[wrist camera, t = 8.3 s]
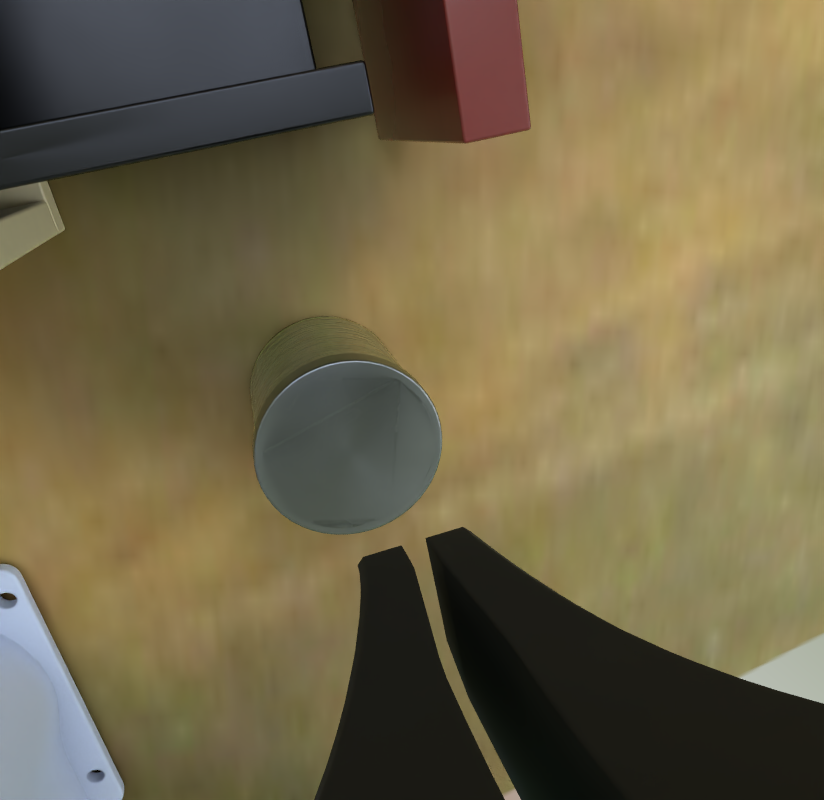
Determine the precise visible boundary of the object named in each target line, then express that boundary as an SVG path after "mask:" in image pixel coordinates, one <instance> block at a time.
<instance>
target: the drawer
mask: <svg viewBox="0 0 824 800" xmlns="http://www.w3.org/2000/svg"><path fill="white" fill-rule="evenodd" d="M353 5H354V10H355V16H356V21H357V26H358V32H359V37H360V42H361V47H362V53H363V58H364V61H362V60H360V61H355V62H350V63H344V64H339V65H334V66H328V67H323V68H318V69H316V64H315V59H314V55H313V50H312V45H311V41H310V36H309V31H308V27H307V22H306V18H305V13H304V8H303V4H302V0H0V190H4V189H9V188H14V187H19V186H24V185H29V184H34V183H39V182H44V181H49V180H54V179H59V178H64V177H69V176H74V175H79V174H84V173H88V172H93V171H98V170H103V169H108V168H113V167H118V166H123V165H128V164H133V163H138V162H143V161H148V160H153V159H158V158H163V157H167V156H172V155H177V154H182V153H187V152H192V151H197V150H202V149H207V148H212V147H217V146H222V145H227V144H232V143H237V142H242V141H247V140H251V139H256V138H261V137H266V136H271V135H276V134H281V133H286V132H291V131H296V130H301V129H306V128H311V127H316V126H321V125H326V124H330V123H335V122H340V121H345V120H350V119H355V118H360V117H365V116H370V115H372V114H374V116H375V121H376V126H377V132H378V137H379V139H380V140H393V141H418V142H443V143H470V142H475V141H480V140H485V139H489V138H494V137H499V136H503V135H508V134H513V133H517V132H522V131H527V130H529V129H530V128H531V124H530V115H529V106H528V97H527V88H526V78H525V69H524V60H523V51H522V42H521V33H520V24H519V14H518V5H517V0H353Z"/></svg>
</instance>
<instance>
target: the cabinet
mask: <svg viewBox="0 0 824 800" xmlns="http://www.w3.org/2000/svg"><path fill="white" fill-rule="evenodd" d="M64 230H65V227H64V225H63V222H62V219H61V217H60V214H59V211H58V208H57V206H56V203H55V200H54V198H53V195H52V192H51V190H50V187H49V184H48V182H47V181H44V182H39V183H34V184H29V185H24V186H19V187H14V188H9V189H4V190H0V270H1V269H3V268H4V267H6V266H8V265H9V264H11V263H12V262H14V261H16V260H17V259H19V258H20V257H22V256H24V255H25V254H27V253H28V252H30V251H32V250H33V249H35V248H36V247H38V246H40V245H41V244H43V243H44V242H46V241H48V240H49V239H51V238H52V237H54V236H56V235H58V234H59V233H61V232H62V231H64Z"/></svg>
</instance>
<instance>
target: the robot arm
mask: <svg viewBox="0 0 824 800" xmlns="http://www.w3.org/2000/svg"><path fill="white" fill-rule="evenodd" d="M426 542H427V547H428V552H429V557H430V562H431V566H432V571H433V576H434V581H435V586H436V590H437V595H438V600H439V605H440V610H441V614H442V619H443V624H444V629H445V634H446V638H447V642H448V645H449V647H450V650H451V653H452V655H453V658H454V661H455V663H456V666H457V669H458V671H459V674H460V676H461V679H462V682H463V684H464V687H465V689H466V692H467V695H468V697H469V699H470V701H471V703H472V705H473V707H474V709H475V711H476V713H477V715H478V717H479V719H480V721H481V723H482V725H483V727H484V729H485V731H486V733H487V735H488V737H489V738H490V740H491V742H492V744H493V746H494V748H495V750H496V752H497V754H498V756H499V758H500V760H501V762H502V764H503V766H504V768H505V769H506V771H507V773H508V775H509V777H510V779H511V781H512V783H513V785H514V787H515V789H516V791H517V793H518V795H519V796H520V798H521V800H824V704H823V703H819V702H816V701H812V700H809V699H805V698H802V697H798V696H794V695H791V694H787V693H784V692H780V691H777V690H774V689H771V688H768V687H765V686H761V685H758V684H755V683H752V682H749V681H746V680H743V679H740V678H737V677H734V676H732V675H729V674H726V673H724V672H721V671H718V670H715V669H713V668H710V667H707V666H705V665H702V664H699V663H696V662H694V661H691V660H689V659H686V658H684V657H681V656H679V655H676V654H674V653H672V652H669V651H667V650H664V649H662V648H660V647H658V646H656V645H654V644H651V643H649V642H647V641H645V640H643V639H641V638H638V637H636V636H634V635H632V634H630V633H628V632H625V631H623V630H621V629H619V628H617V627H616V626H614V625H612V624H610V623H608V622H606V621H604V620H602V619H601V618H599V617H597V616H595V615H594V614H592V613H590V612H588V611H587V610H585V609H583V608H581V607H580V606H578V605H576V604H574V603H573V602H571V601H570V600H568V599H566V598H565V597H563V596H561V595H560V594H558V593H557V592H555V591H553V590H552V589H550V588H549V587H547V586H546V585H544V584H543V583H541V582H540V581H538V580H537V579H535V578H533V577H532V576H530V575H529V574H527V573H526V572H525V571H523V570H522V569H520V568H519V567H517V566H516V565H515V564H513V563H512V562H510V561H509V560H508V559H506V558H505V557H503V556H502V555H501V554H499V553H498V552H497V551H495V550H494V549H493V548H491V547H490V546H489V545H487V544H486V543H485V542H483V541H482V540H481V539H480V538H478V537H477V536H476V535H474V534H473V533H472V532H471V531H469V530H467V529H465V528H464V527H461V528H458V529H454V530H451V531H448V532H444V533H441V534H438V535H434V536H431V537H428V538H426ZM358 568H359V572H360V582H361V602H360V618H359V626H358V634H357V642H356V650H355V656H354V661H353V666H352V671H351V676H350V681H349V685H348V690H347V695H346V700H345V704H344V708H343V712H342V716H341V719H340V723H339V727H338V730H337V734H336V737H335V740H334V744H333V747H332V750H331V753H330V757H329V760H328V763H327V766H326V769H325V772H324V774H323V777H322V780H321V783H320V785H319V788H318V791H317V794H316V796H315V799H314V800H505V799H504V797H503V795H502V793H501V791H500V789H499V787H498V785H497V783H496V782H495V780H494V778H493V776H492V774H491V772H490V770H489V767H488V765H487V763H486V761H485V759H484V757H483V755H482V753H481V751H480V749H479V747H478V745H477V743H476V740H475V738H474V736H473V734H472V732H471V730H470V728H469V726H468V724H467V722H466V719H465V717H464V715H463V713H462V711H461V709H460V706H459V704H458V702H457V700H456V698H455V695H454V693H453V691H452V689H451V687H450V685H449V682H448V680H447V678H446V675H445V672H444V669H443V667H442V664H441V661H440V658H439V655H438V651H437V648H436V644H435V641H434V637H433V634H432V630H431V626H430V623H429V619H428V616H427V612H426V608H425V605H424V601H423V598H422V594H421V591H420V587H419V583H418V580H417V576H416V573H415V569H414V567H413V565H412V563H411V561H410V559H409V558H408V556H407V554H406V552H405V551H404V549H403V547H402V546H398V547H395V548H391V549H388V550H385V551H381V552H378V553H375V554H371V555H368V556H365V557H363V558H362V560H361V561H360V563H359V564H358ZM2 593H11V594H13V595H14V596H15V597H16V598H17V599H15V600H6V599H3V597H2V596H1V595H0V800H122V798H123V795H124V783H123V781H122V779H121V777H120V775H119V773H118V771H117V769H116V767H115V765H114V763H113V761H112V759H111V757H110V754H109V752H108V750H107V748H106V746H105V744H104V742H103V740H102V738H101V736H100V734H99V732H98V730H97V728H96V726H95V724H94V722H93V720H92V718H91V716H90V714H89V711H88V709H87V707H86V705H85V703H84V701H83V699H82V697H81V695H80V693H79V691H78V689H77V687H76V685H75V683H74V681H73V679H72V677H71V675H70V673H69V670H68V668H67V666H66V664H65V662H64V660H63V658H62V656H61V654H60V652H59V650H58V648H57V646H56V644H55V642H54V640H53V638H52V636H51V634H50V632H49V630H48V627H47V625H46V623H45V621H44V619H43V617H42V615H41V613H40V611H39V609H38V607H37V605H36V603H35V601H34V599H33V597H32V595H31V593H30V591H29V589H28V587H27V584H26V582H25V580H24V578H23V576H22V574H21V573H20V572H19V570H18V569H17V568H15V567H13V566H12V565H8V564H0V594H2ZM92 770H101V772H97V773H95V772H92Z"/></svg>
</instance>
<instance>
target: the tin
mask: <svg viewBox="0 0 824 800" xmlns="http://www.w3.org/2000/svg"><path fill="white" fill-rule="evenodd" d="M250 393H251V404H252V412H253V420H254V433H253V458H254V467H255V471H256V475H257V479H258V481H259V484H260V486H261V488H262V490H263V492H264V494H265V495H266V497H267V499H268V500H269V501H270V502H271V504H272V505H273V506H274V507H275V508H276V509H277V510H278V511H279V512H280V513H281V514H282V515H284V516H285V517H286V518H288V519H289V520H291V521H292V522H294V523H296V524H298V525H300V526H302V527H304V528H307V529H310V530H313V531H317V532H321V533H327V534H354V533H361V532H365V531H369V530H372V529H375V528H378V527H380V526H383V525H385V524H387V523H389V522H391V521H393V520H394V519H396V518H397V517H399V516H401V515H402V514H403V513H405V512H406V511H407V510H408V509H409V508H411V507H412V506H413V505H414V504H415V503H416V502H417V501H418V500H419V499H420V497H421V496H422V495H423V493H424V492H425V491H426V489H427V488H428V486H429V484H430V483H431V481H432V479H433V477H434V475H435V472H436V470H437V467H438V464H439V460H440V456H441V449H442V431H441V424H440V420H439V416H438V413H437V411H436V409H435V406H434V404H433V402H432V401H431V399H430V397H429V396H428V394H427V393H426V392H425V391H424V389H423V388H422V387H421V386H420V384H419V383H418V382H417V381H416V380H415V379H414V378H413V377H412V376H411V375H410V374H409V373H408V372H407V371H405V370H404V369H402V368H401V367H400V365H399V364H398V363H397V361H396V360H395V359H394V358H393V356H392V355H391V354H390V352H389V351H388V350H387V349H386V347H385V346H384V345H383V344H382V342H381V341H380V340H379V339H378V338H377V337H376V336H375V335H374V334H373V333H372V332H371V331H369V330H368V329H366V328H365V327H363V326H361V325H359V324H357V323H355V322H353V321H350V320H347V319H342V318H338V317H315V318H310V319H305V320H302V321H299V322H297V323H294V324H292V325H290V326H288V327H287V328H285V329H283V330H282V331H280V332H279V333H278V334H277V335H275V336H274V337H273V338H272V339H271V340H270V341H269V342H268V343H267V344H266V346H265V347H264V349H263V350H262V351H261V353H260V355H259V357H258V358H257V360H256V363H255V365H254V368H253V371H252V376H251V384H250Z"/></svg>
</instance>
